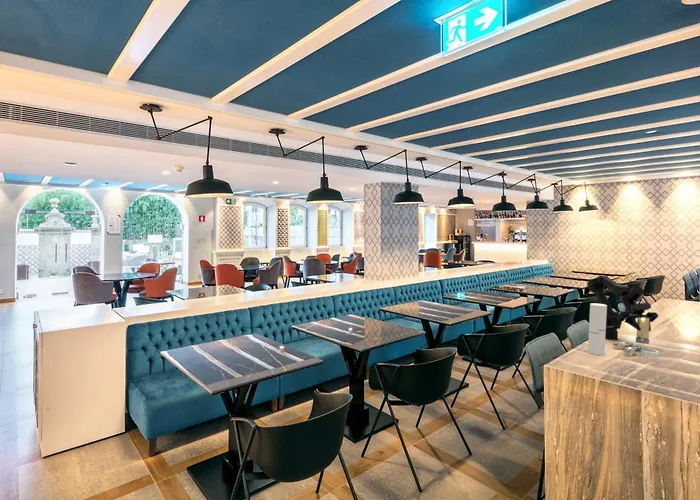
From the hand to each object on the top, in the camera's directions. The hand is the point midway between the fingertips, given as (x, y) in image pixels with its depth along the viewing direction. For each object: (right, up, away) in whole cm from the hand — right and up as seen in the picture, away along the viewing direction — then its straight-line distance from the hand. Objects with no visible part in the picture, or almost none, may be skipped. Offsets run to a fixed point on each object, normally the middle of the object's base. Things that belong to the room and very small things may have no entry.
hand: (644, 330), depth 199 cm
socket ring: (0, -12, -2) cm, 12 cm away
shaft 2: (-10, -11, -5) cm, 16 cm away
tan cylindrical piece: (0, -7, +2) cm, 7 cm away
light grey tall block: (-27, -11, -3) cm, 30 cm away
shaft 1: (-9, -11, +4) cm, 15 cm away
